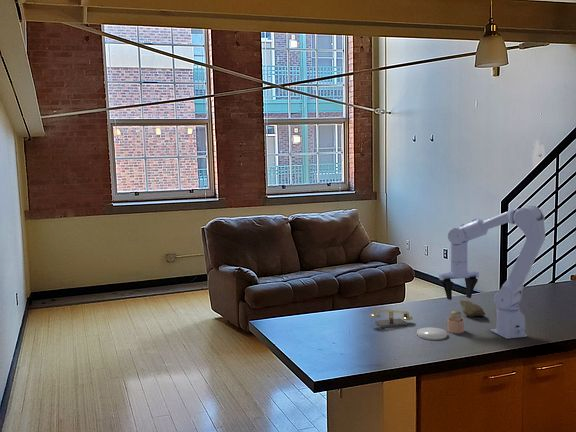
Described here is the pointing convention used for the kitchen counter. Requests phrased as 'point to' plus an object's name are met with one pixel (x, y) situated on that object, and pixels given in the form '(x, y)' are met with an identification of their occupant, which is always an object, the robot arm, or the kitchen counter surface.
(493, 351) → the kitchen counter surface
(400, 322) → the balance
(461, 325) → the sleeve
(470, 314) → the fossil
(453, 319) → the peg
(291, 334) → the kitchen counter surface
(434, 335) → the white glossy domed part
